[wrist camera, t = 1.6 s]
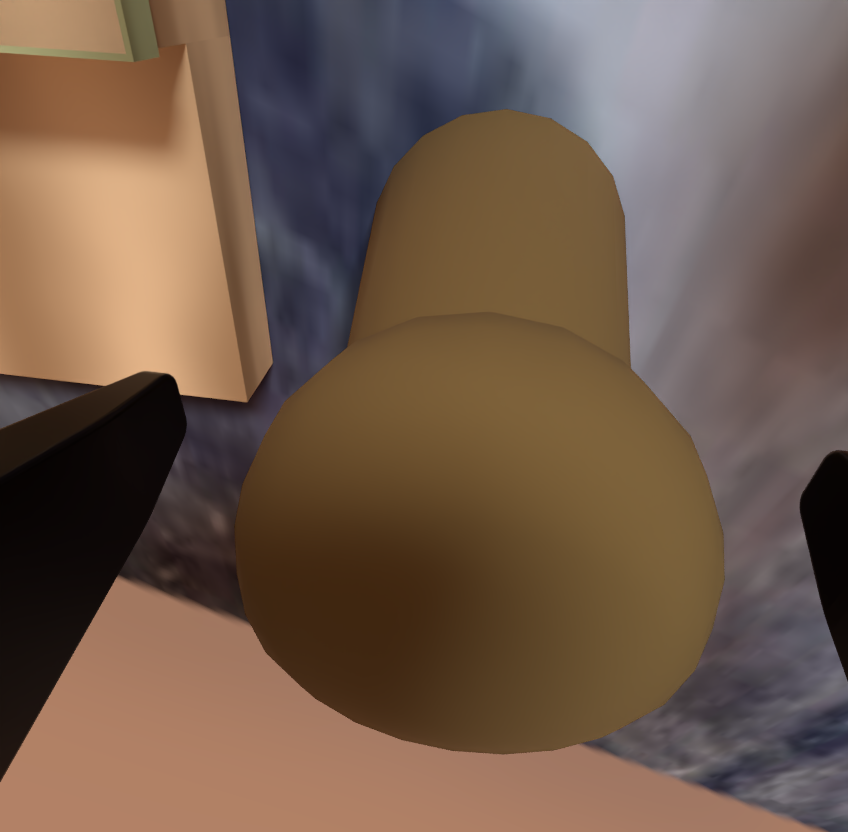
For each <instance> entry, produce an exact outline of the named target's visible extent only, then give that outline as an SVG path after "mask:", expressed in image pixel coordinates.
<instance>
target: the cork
mask: <svg viewBox="0 0 848 832" xmlns="http://www.w3.org/2000/svg"><path fill="white" fill-rule="evenodd" d="M234 529H235V548H236V567H237V577H238V582H239V586H240V591H241V596H242V601H243V606H244V610H245V615H246V617H247V619H248V620H249V622H250V624H251V626H252V628H253V630H254V632H255V633H256V635H257V637H258V639H259V641H260V643H261V644H262V646H263V648H264V650H265V652H266V653H267V654H268V655H269V656H270V657H271V658H272V659H273V660H274V661H275V662H276V663H277V664H278V665H279V666H280V667H281V668H282V669H283V670H285V671H286V672H287V673H288V674H289V675H290V676H291V677H292V678H293V679H294V680H295V681H296V682H297V683H298V684H299V685H300V686H301V687H302V688H304V689H305V690H306V691H307V692H308V693H310V694H311V695H312V696H313V697H314V698H315V699H317V700H319V701H320V702H322V703H324V704H325V705H327V706H329V707H330V708H332V709H334V710H335V711H337V712H339V713H340V714H342V715H344V716H346V717H347V718H349V719H351V720H352V721H354V722H356V723H358V724H361V725H364V726H366V727H369V728H372V729H374V730H377V731H380V732H382V733H385V734H388V735H390V736H393V737H395V738H398V739H401V740H405V741H409V742H414V743H418V744H423V745H428V746H433V747H437V748H442V749H446V750H451V751H464V752H478V753H493V754H514V753H527V752H539V751H551V750H557V749H561V748H565V747H568V746H572V745H576V744H580V743H584V742H587V741H591V740H595V739H599V738H602V737H604V736H606V735H608V734H610V733H612V732H614V731H616V730H618V729H620V728H622V727H624V726H626V725H628V724H630V723H631V722H633V721H635V720H637V719H639V718H641V717H642V716H644V715H646V714H648V713H650V712H652V711H653V710H655V709H657V708H659V707H661V706H663V705H664V704H665V703H666V702H667V701H668V700H669V699H670V698H671V696H672V695H673V694H674V693H675V692H676V691H677V690H678V689H679V688H680V686H681V685H682V684H683V683H684V682H685V681H686V680H687V679H688V677H689V676H690V675H691V674H692V673H693V672H694V671H695V669H696V667H697V664H698V662H699V659H700V657H701V655H702V652H703V650H704V648H705V645H706V643H707V641H708V638H709V636H710V634H711V631H712V629H713V625H714V621H715V617H716V612H717V608H718V604H719V600H720V596H721V592H722V588H723V584H724V580H725V575H724V540H723V530H722V527H721V523H720V520H719V516H718V513H717V509H716V506H715V502H714V499H713V495H712V492H711V488H710V485H709V481H708V477H707V474H706V472H705V470H704V467H703V465H702V462H701V460H700V458H699V455H698V453H697V450H696V448H695V446H694V443H693V441H692V438H691V436H690V435H689V434H688V433H687V431H686V430H685V429H684V428H683V427H682V426H681V424H680V423H679V422H678V421H677V420H676V419H675V417H674V416H673V415H672V414H671V413H670V412H669V410H668V409H667V408H666V407H665V406H664V405H663V404H662V402H661V401H660V400H659V399H658V398H657V397H656V395H655V394H654V393H653V392H652V391H651V390H650V388H649V387H648V386H647V385H646V384H645V383H644V382H643V381H642V380H641V379H640V378H639V376H638V375H637V374H636V373H635V372H634V371H633V370H632V369H631V363H630V338H629V313H628V288H627V263H626V238H625V216H624V212H623V209H622V205H621V202H620V198H619V195H618V192H617V188H616V185H615V181H614V178H613V176H612V174H611V173H610V172H609V170H608V169H607V168H606V166H605V165H604V164H603V162H602V161H601V159H600V158H599V157H598V155H597V154H596V153H595V151H594V150H593V149H592V147H591V146H590V145H589V143H588V142H587V141H585V140H583V139H582V138H580V137H579V136H577V135H576V134H574V133H573V132H571V131H569V130H568V129H566V128H565V127H563V126H562V125H560V124H558V123H557V122H555V121H554V120H552V119H551V118H546V117H541V116H537V115H532V114H527V113H523V112H518V111H513V110H508V109H504V110H497V111H490V112H483V113H476V114H469V115H462V116H460V117H458V118H456V119H454V120H453V121H451V122H449V123H447V124H445V125H443V126H441V127H439V128H437V129H435V130H433V131H431V132H429V133H428V134H426V135H424V136H422V138H421V139H420V140H419V141H418V142H417V143H416V144H415V145H414V146H413V147H412V148H411V149H410V150H409V151H408V152H407V153H406V154H405V155H404V156H403V158H402V159H401V160H400V161H399V162H398V163H397V164H396V165H395V166H394V167H393V170H392V172H391V174H390V176H389V178H388V180H387V182H386V185H385V187H384V189H383V191H382V193H381V195H380V198H379V200H378V202H377V205H376V210H375V215H374V219H373V224H372V229H371V234H370V239H369V244H368V249H367V254H366V259H365V263H364V268H363V273H362V278H361V283H360V288H359V293H358V298H357V303H356V307H355V312H354V317H353V322H352V327H351V332H350V337H349V342H348V346H347V348H346V349H345V350H344V351H343V352H341V353H340V354H339V355H338V356H336V357H335V358H334V359H333V360H331V361H330V362H329V363H328V364H327V365H326V366H325V367H323V368H322V369H321V370H320V371H319V372H318V373H317V374H315V375H314V376H313V377H312V378H311V379H310V380H309V381H307V382H306V383H305V384H304V385H303V386H302V387H301V388H300V389H298V390H297V391H296V392H295V393H294V394H293V395H292V396H290V397H289V398H288V399H287V400H286V401H285V402H284V404H283V405H282V407H281V409H280V411H279V412H278V414H277V416H276V417H275V419H274V421H273V422H272V424H271V426H270V427H269V429H268V431H267V433H266V434H265V436H264V438H263V441H262V443H261V445H260V447H259V449H258V451H257V454H256V456H255V458H254V460H253V462H252V465H251V467H250V469H249V471H248V473H247V475H246V478H245V480H244V482H243V484H242V489H241V494H240V499H239V505H238V510H237V515H236V521H235V526H234Z"/></svg>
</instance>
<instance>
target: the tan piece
mask: <svg viewBox="0 0 848 832" xmlns="http://www.w3.org/2000/svg"><path fill="white" fill-rule="evenodd" d="M272 364H273V359H272V352H271V344H270V337H269V329H268V322H267V314H266V306H265V299H264V291H263V284H262V276H261V269H260V261H259V253H258V246H257V238H256V231H255V223H254V216H253V208H252V200H251V193H250V185H249V178H248V170H247V163H246V155H245V148H244V140H243V132H242V125H241V117H240V110H239V102H238V95H237V87H236V79H235V72H234V64H233V57H232V49H231V42H230V34H229V26H228V19H227V11H226V4H225V0H0V374H8V375H16V376H25V377H34V378H42V379H51V380H59V381H68V382H77V383H85V384H94V385H103V386H106V385H109V384H111V383H114V382H116V381H119V380H121V379H124V378H126V377H129V376H131V375H133V374H136V373H138V372H141V371H152V372H160V373H168V374H170V375H172V376H173V377H174V378H175V380H176V382H177V385H178V389H179V393H180V395H189V396H197V397H206V398H215V399H223V400H232V401H241V402H248V401H249V399H250V398H251V396H252V395H253V393H254V392H255V390H256V388H257V387H258V385H259V384H260V382H261V381H262V379H263V378H264V376H265V374H266V373H267V371H268V370H269V368H270V367H271V365H272Z"/></svg>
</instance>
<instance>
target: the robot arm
mask: <svg viewBox="0 0 848 832" xmlns="http://www.w3.org/2000/svg"><path fill="white" fill-rule="evenodd" d="M186 427H187V421H186V416H185V412H184V408H183V404H182V400H181V396H180V393H179V389H178V385H177V382H176V380H175V378H174V377H173V376H172V375H170V374H168V373H160V372H152V371H141V372H138V373H136V374H133V375H131V376H129V377H126V378H124V379H121V380H119V381H116V382H114V383H111V384H109V385H106V386H104V387H102V388H99V389H97V390H94V391H92V392H89V393H87V394H84V395H82V396H80V397H77V398H75V399H72V400H70V401H67V402H65V403H62V404H60V405H58V406H55V407H53V408H50V409H48V410H45V411H43V412H40V413H38V414H35V415H33V416H31V417H28V418H26V419H23V420H21V421H18V422H16V423H13V424H11V425H9V426H6V427H4V428H1V429H0V782H1V780H2V778H3V776H4V775H5V773H6V771H7V770H8V768H9V766H10V764H11V762H12V761H13V759H14V757H15V755H16V754H17V752H18V750H19V748H20V747H21V745H22V743H23V741H24V740H25V738H26V736H27V734H28V733H29V731H30V729H31V727H32V725H33V724H34V722H35V720H36V718H37V717H38V715H39V713H40V711H41V710H42V708H43V706H44V704H45V702H46V701H47V699H48V697H49V695H50V694H51V692H52V690H53V688H54V687H55V685H56V683H57V681H58V680H59V678H60V676H61V674H62V673H63V671H64V669H65V667H66V665H67V664H68V662H69V660H70V659H71V657H72V655H73V653H74V651H75V650H76V648H77V646H78V644H79V643H80V641H81V639H82V637H83V636H84V634H85V632H86V630H87V629H88V627H89V625H90V623H91V622H92V620H93V618H94V616H95V614H96V613H97V611H98V609H99V607H100V606H101V604H102V602H103V600H104V599H105V597H106V595H107V593H108V591H109V590H110V588H111V586H112V584H113V583H114V581H115V579H116V577H117V576H118V574H119V572H120V570H121V569H122V567H123V565H124V563H125V562H126V560H127V558H128V556H129V555H130V553H131V551H132V549H133V547H134V546H135V544H136V542H137V540H138V539H139V537H140V535H141V533H142V531H143V529H144V528H145V526H146V524H147V522H148V520H149V518H150V516H151V513H152V511H153V509H154V507H155V505H156V502H157V500H158V498H159V495H160V493H161V491H162V488H163V486H164V483H165V481H166V479H167V476H168V474H169V472H170V469H171V467H172V465H173V462H174V460H175V458H176V455H177V453H178V451H179V448H180V446H181V444H182V441H183V439H184V436H185V433H186ZM800 514H801V519H802V523H803V527H804V532H805V536H806V540H807V544H808V549H809V553H810V557H811V562H812V566H813V570H814V575H815V579H816V583H817V588H818V592H819V596H820V600H821V604H822V607H823V611H824V615H825V618H826V621H827V624H828V627H829V630H830V633H831V636H832V639H833V641H834V644H835V647H836V650H837V653H838V655H839V658H840V661H841V664H842V667H843V669H844V672H845V675H846V678H847V681H848V451H842V450H836V451H832V452H830V453H829V454H828V455H826V457H825V458H824V459H823V461H822V463H821V464H820V466H819V467H818V469H817V471H816V472H815V474H814V475H813V477H812V479H811V480H810V482H809V483H808V485H807V487H806V488H805V490H804V491H803V493H802V496H801V499H800Z"/></svg>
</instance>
